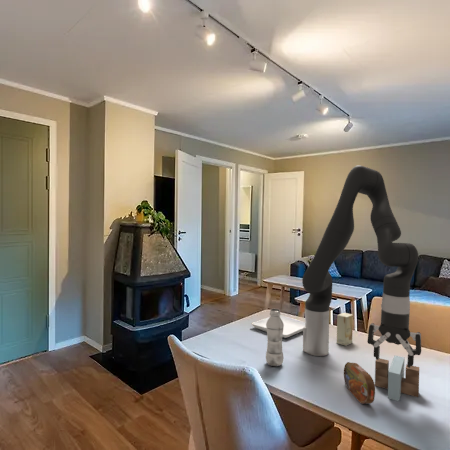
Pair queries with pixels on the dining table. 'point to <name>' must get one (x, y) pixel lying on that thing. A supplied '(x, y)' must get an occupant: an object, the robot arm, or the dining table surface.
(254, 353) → the dining table surface
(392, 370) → the cross plate
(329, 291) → the robot arm
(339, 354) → the dining table surface
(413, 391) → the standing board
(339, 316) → the skincare box
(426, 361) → the dining table surface
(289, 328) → the salad plate
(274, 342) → the plastic bottle
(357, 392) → the tin
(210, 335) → the dining table surface
